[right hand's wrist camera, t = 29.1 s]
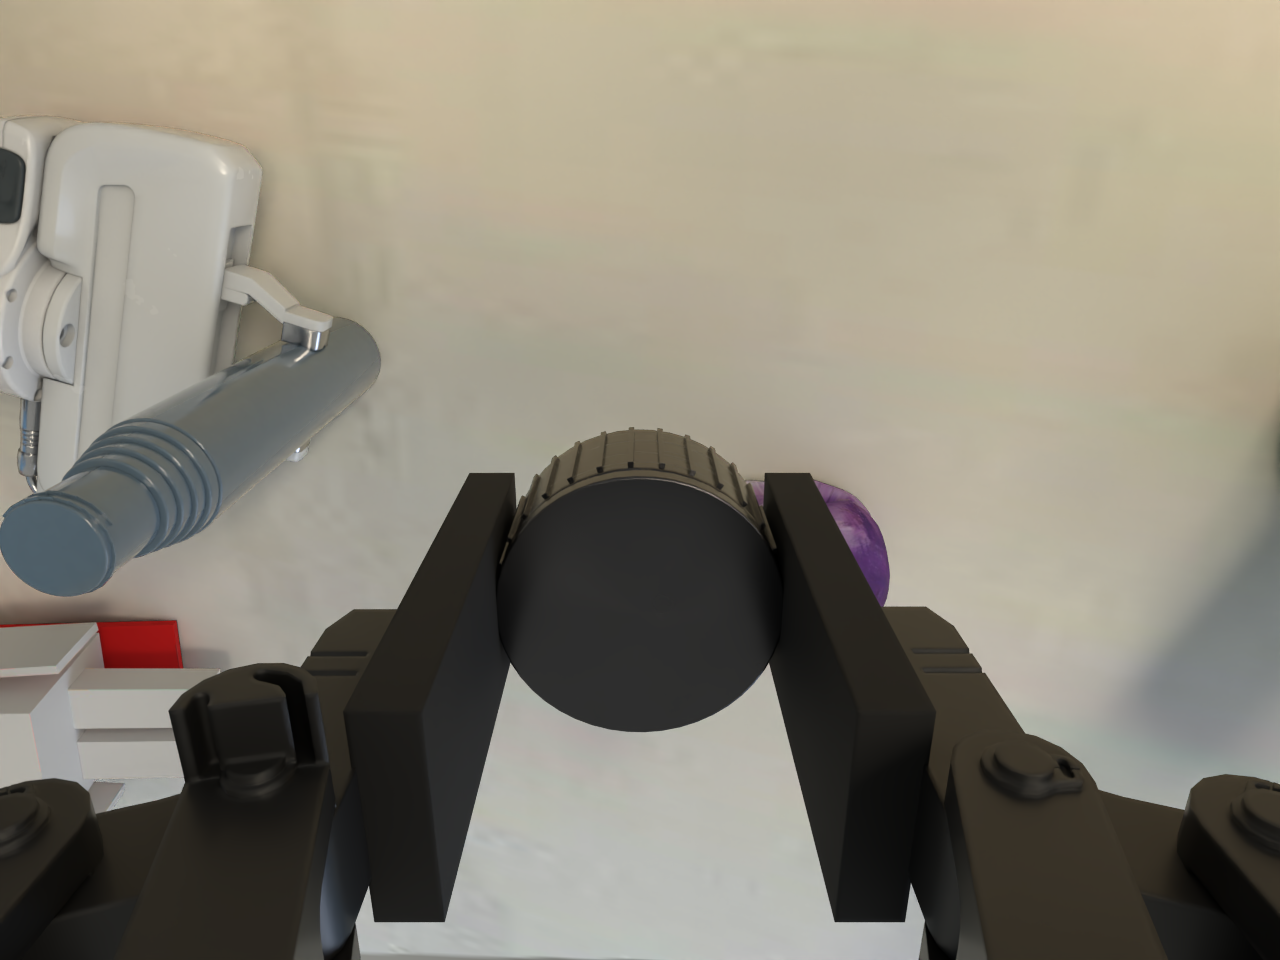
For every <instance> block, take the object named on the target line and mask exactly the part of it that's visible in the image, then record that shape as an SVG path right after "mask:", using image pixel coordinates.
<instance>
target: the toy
mask: <svg viewBox="0 0 1280 960" xmlns="http://www.w3.org/2000/svg"><path fill="white" fill-rule="evenodd" d="M219 673H220V669H189V668H183V664H182V657H181V650H180V643H179V636H178V629H177V622H176V621H137V622H91V623H54V624H13V625H0V788H3V787H6V786H7V787H8V786H11V785H13V784H17V783H21V782H24V781H31V780H40V779H50V778H58V779H63V780H69V781H74V782H78V783H79V784H80V785H81V786H82V787H83V788H85V789H86V790H87V791H88V792H89V793H90V796H91V800H92V803H93V807H94V810H95V813H96V814H97V813H101V812H106V811H111V810H112V809H113V807H114V806H115V804H116V803H117V801H118V800H119V798H120V797H121V795H122V794H123V792H124V791H125V784H124V783H107V782H94V781H95V780H96V779H132V778H184V775H183V771H182V767H181V762H180V758H179V754H178V750H177V746H176V741H175V737H174V733H173V729H172V725H171V720H170V716H169V712H168V710H169V709H170V708H171V707H172V706H173V704H174V703H175V702H176V701H177V699H178V698H179V697H180V696H181V695H182V694H183V693H184V692H186V691H187V690H189V689H190V688H192V687H193V686H195V685H197V684H198V683H200V682H201V681H203V680H204V679H207V678H209V677H212V676H214V675H217V674H219Z"/></svg>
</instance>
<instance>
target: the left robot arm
mask: <svg viewBox="0 0 1280 960" xmlns="http://www.w3.org/2000/svg"><path fill="white" fill-rule="evenodd" d="M261 181H262V168H261V166H260V165H259V163H258V162H257V160H256V159H255V158H254V157H253V155H252V154H251V153H250V152H249V151H248V149H247V148H246V147H245V146H243V145H241V144H238V143H235V142H232V141H229V140H226V139H222V138H218V137H214V136H211V135H206V134H202V133H197V132H192V131H187V130H182V129H176V128H169V127H162V126H153V125H143V124H133V123H112V122H82V121H78V120H73V119H69V118H63V117H57V116H47V115H19V116H8V117H1V118H0V392H2V393H5V394H9V395H12V396H16V397H19V398H21V402H20V432H21V443H20V448H19V449H18V454H17V466H18V471H19V473H20V474H21V475H23V476H26V479H27V482H28V485H29V487H30V488H31V490H32V491H33V493H38V492H43V491H45V490H47V489H49V488H50V487H52V486H54V485H56V484H58V483H59V482H61V480H62V479H63V477H64V475H65V474H66V473H67V471H69V470H70V469H71V468H72V466H73V465H74V463H75V462H76V461H77V460H78V459H79V458H80V457H81V455H82V454H83V453H84V452H85V451H86V450H87V449H88V448H89V446H90V445H91V444H92V442H93V441H94V440H95V439H96V438H98V437H99V436H100V435H102V434H103V433H105V432H106V431H107V430H108V429H109V428H111V427H112V426H114V425H115V424H117V423H119V422H121V421H123V420H125V419H127V418H129V417H131V416H133V415H135V414H137V413H139V412H141V411H143V410H145V409H147V408H149V407H151V406H153V405H154V404H156V403H158V402H160V401H162V400H164V399H166V398H168V397H170V396H172V395H174V394H176V393H178V392H180V391H182V390H184V389H186V388H188V387H190V386H192V385H194V384H196V383H197V382H199V381H201V380H203V379H205V378H207V377H209V376H211V375H213V374H215V373H217V372H219V371H221V370H223V369H225V368H227V367H229V366H231V365H233V364H234V358H235V351H236V345H237V338H238V332H239V325H240V319H241V312H242V305H243V306H245V305H248V304H250V303H253V302H255V301H257V302H258V303H259V304H260V305H261V306H262V307H263V308H265V309H266V310H267V311H268V312H269V313H270V314H271V315H272V316H274V317H275V318H276V319H277V320H278V321H279V322H280V323H281V324H283V330H282V337H281V341H284V342H287V343H290V344H295V345H296V344H299V343H300V344H301V345H302V346H303V347H305V348H307V349H310V350H321V349H323V347H326V346H327V345H328V341H329V336H330V331H331V327H332V321H333V317H332V316H330V315H329V314H326V313H322V312H319V311H316V310H313V309H310V308H306V307H303V306H300V303H299V302H298V301H297V300H296V299H295V298H294V297H293V295H292V294H291V293H290V292H289V291H288V290H287V289H286V288H285V287H284V286H283V285H282V284H281V283H280V282H279V281H278V280H277V279H276V278H275V277H274V276H273V275H272V274H271V273H270V272H267V271H263V270H260V269H257V268H254V267H251V266H249V259H250V253H251V246H252V239H253V233H254V226H255V220H256V213H257V207H258V200H259V194H260V187H261ZM309 442H310V439H309V440H308V441H307V442H306V443H305V444H303V445H302V446H301V447H300V448H299V449H298V450H296V451H295V452H294V453H293V454H292V455H291V456H289V457H288V458H287V459H286V460H288V461H300V460H301V459H302V458H303V457H304V456H306V455H307V453H308V447H309ZM36 476H37V480H36Z"/></svg>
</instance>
